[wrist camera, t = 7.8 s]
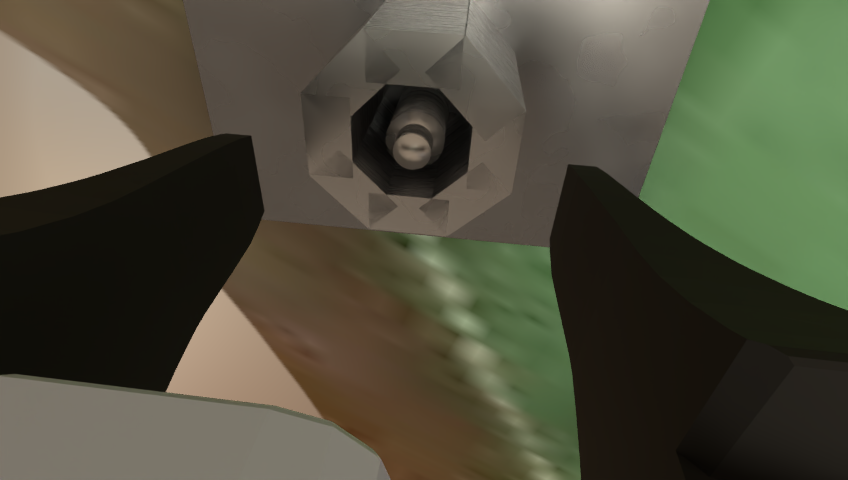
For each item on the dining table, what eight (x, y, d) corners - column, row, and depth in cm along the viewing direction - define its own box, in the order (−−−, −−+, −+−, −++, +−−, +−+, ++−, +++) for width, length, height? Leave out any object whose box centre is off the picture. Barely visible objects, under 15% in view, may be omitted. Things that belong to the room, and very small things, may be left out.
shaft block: (612, 239, 20) (650, 341, 16) (241, 203, 21) (174, 291, 17) (735, -115, 13) (869, -117, 9) (167, -147, 14) (14, -164, 9)
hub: (498, 160, 18) (502, 241, 14) (352, 148, 18) (314, 223, 14) (523, -3, 14) (539, 40, 10) (345, -15, 15) (292, 22, 11)
